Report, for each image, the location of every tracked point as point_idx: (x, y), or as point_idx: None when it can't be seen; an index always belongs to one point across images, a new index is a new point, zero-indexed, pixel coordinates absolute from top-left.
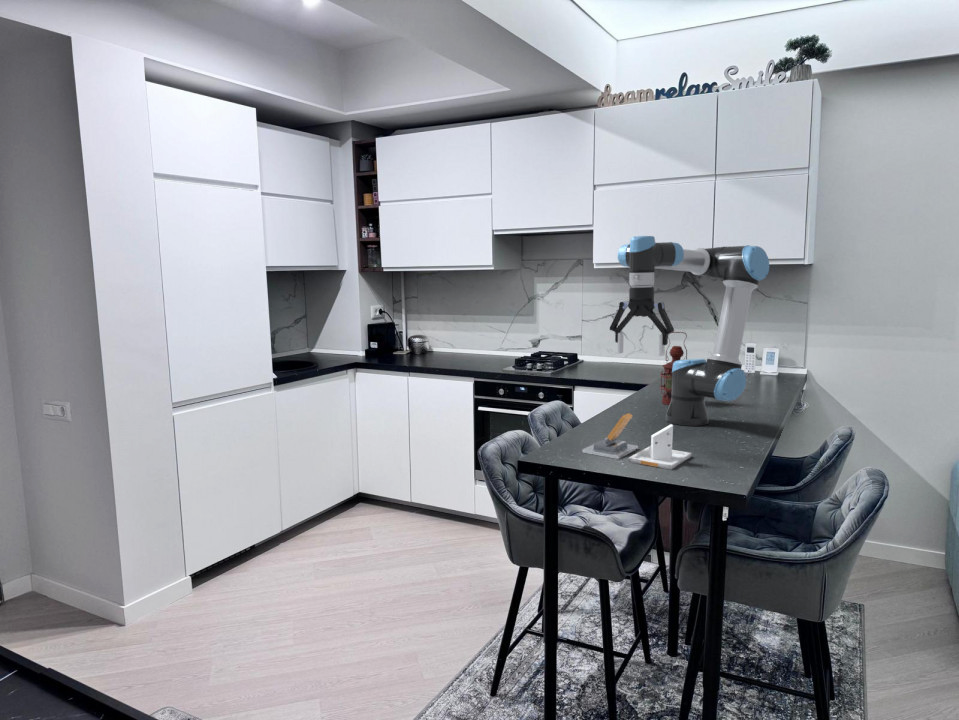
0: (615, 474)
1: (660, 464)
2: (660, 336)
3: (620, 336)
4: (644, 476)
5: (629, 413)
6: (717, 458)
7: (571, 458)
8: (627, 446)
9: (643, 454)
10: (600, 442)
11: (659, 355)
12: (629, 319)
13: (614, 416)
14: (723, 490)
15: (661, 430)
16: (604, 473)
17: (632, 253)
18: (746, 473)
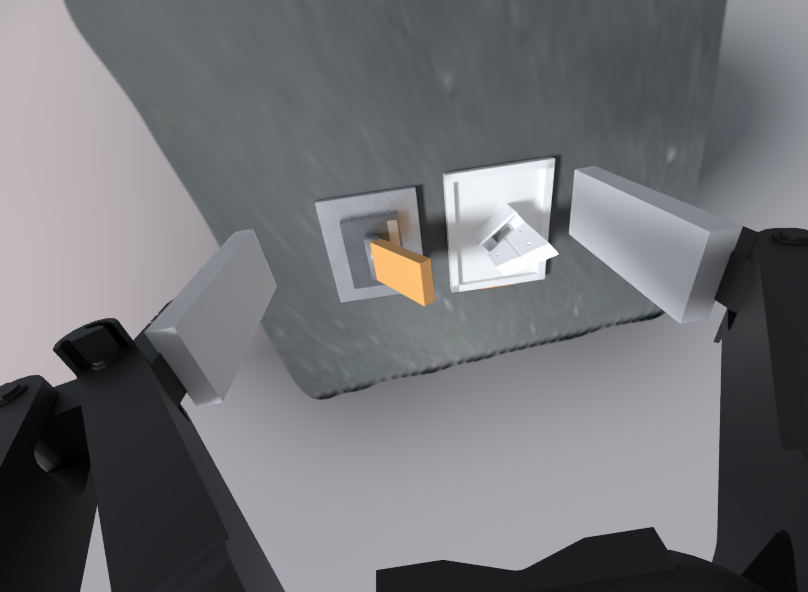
0: (469, 356)
1: (520, 281)
2: (679, 313)
3: (232, 368)
4: (513, 335)
5: (421, 264)
6: (611, 120)
7: (355, 340)
8: (399, 214)
9: (456, 233)
10: (354, 266)
11: (572, 234)
12: (247, 539)
13: None
14: (645, 310)
15: (523, 260)
16: (452, 363)
17: None
18: (682, 193)
